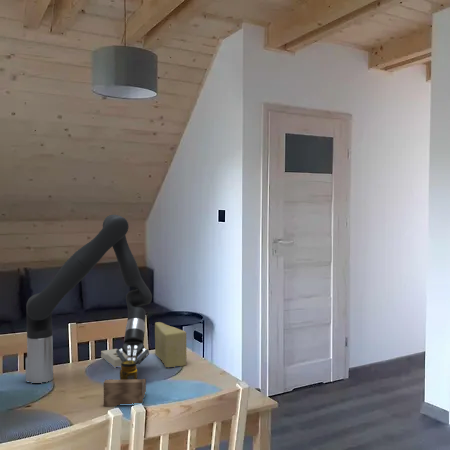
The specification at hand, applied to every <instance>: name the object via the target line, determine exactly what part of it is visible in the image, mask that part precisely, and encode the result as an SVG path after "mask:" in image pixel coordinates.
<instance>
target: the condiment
mask: <svg viewBox="0 0 450 450" xmlns="http://www.w3.org/2000/svg"><path fill="white" fill-rule="evenodd" d="M119 371H120V372H119V380H128V379H138V369H137V364H136V362H135V361H132V360H127V361H123V362H122V363H121V368H120V370H119Z"/></svg>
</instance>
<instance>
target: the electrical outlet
mask: <svg viewBox="0 0 450 450" xmlns="http://www.w3.org/2000/svg"><path fill="white" fill-rule="evenodd" d="M117 349H118V348H112V349H106V350H101V351H100V353H101V354H100V358H101V359H103V358H105V359H106V360H107V361H108V362H109V363H111V364H112V365H113V366H114V367H116V366H121V363H122V361H121V359H120V358H119V357H118V355H117V353H116V350H117ZM123 356H124V357H125V359H126V360H127V356H126V354H125V353H124V351H123Z"/></svg>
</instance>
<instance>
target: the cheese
mask: <svg viewBox="0 0 450 450" xmlns="http://www.w3.org/2000/svg"><path fill="white" fill-rule="evenodd" d="M154 344H155V345H154V348H155V349H154V350H155V351H154V354H155V356H158V357H159V358H160V359H161V360H162V361H161V360H160V359H159V358H158V359H159V360H160V361H161V362H162V363H164V364H163V365H164V367H165V368H166V367H174V368H176V367H175V366H180V367H184V366H187V332H186V331H185V330H183V329H180V328H177V327H174V326H172V325H171V326H170V325H168V324H166V323H164V322H161V321H158V322H157V321H156V322H155V323H154Z"/></svg>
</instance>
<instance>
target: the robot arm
mask: <svg viewBox="0 0 450 450" xmlns="http://www.w3.org/2000/svg"><path fill="white" fill-rule="evenodd" d="M128 230H129V222H128V220H127V219H126V218H125V217H123V216H121V215H118V214H110V215H108V216H106V217H105V218H104V220H103V222H102V229H101V230H100V231H99V232H98V233H97V234H96V236H95V237H94V238H93V239H91V240H89V241H88V243H85V244H84V245H83V246H82V247H80V248H79V249H78V250H76V251H75V252H74V253H73V254H72V255H71V256H70V257H69V258H68V259H67V261H65V262H64V263H63V265H62V266H61V268H59V270H58V271H57V273H56V274H55V276H54V278H52V280H51V281H50V283H49V284H48V285H47V286H46V287H45V288H44V289H43V290H42V291H41V292H39V293H35V294H32V295H31V296H30V297H29V298H28V300H27V302H26V307H25V308H26V345H27V346H26V347H27V348H26V351H27V354H26V355H27V356H26V357H25V358H24V359H25V361H24V362H25V382H26V381H29V382H33V383H41V384H43V383H42V382H46V383H49V382H51V381H53V379H54V359H53V358H54V350H53V343H54V342H53V317H52V316H53V311H54V310H55V309H56V307H57V306H58V305H59V304H60V302H61V301H62V300H63V298H65V296H66V295H67V294H68V293H69V292H70V291H72V290H73V289H74V288H75V287H76V286H77V285H78V284H79V283H80V282H81V281H82V280H83V279H84V278H85V277H86V276H87V275H88V274H89V273H90V272H91V271H92V270H93V268H95V266H96V265H97V264H98V263H99V261H101V259H102V258H103V257H104V256H105V254H106V253H107V252H108V251H109V250H110V249H113V251H114V253H115V256H116V259H117V263H118V266H119V270H120V273H121V276H122V279H123V282H124V284H125V285H126V287H132V288H135V289H131V290H130V291H128V292H127V293H126V295H125V302H126V306H127V322H126V325H125V332H124V333H125V334H124V339H123V344H122V346H121V348H120V349H119V348H116V349H117V350H116V353H117V355H118V357H119V358H120V359H121V361H122V362H123V361H127V360H132V361H135V362H136V365H140V364H141V363H142V362H143V361H145V359H146V358H147V357H148V356H149V355H150V350H149V349H147V348H145V345H144V344H145V343H144V342H145V333H146V315H147V314H146V313H147V312H146V310H145V309H144V308H143V307H142V306H148V305H150V304H151V302H152V299H153V295H152V292H151V290H150V289H149V287H148V285H147V284H146V283H145V281H144V279H143V278H142V275H141V272H140V269H139V266H138V263H137V261H136V259H135V257H134V255H133V253H132V251H131V249H130V246H129V243H128V240H127V237H126V235H127V233H128V232H129V231H128ZM123 352H124V353H125V354H126V356H127V360H126V359H125V357H124V356H123ZM48 381H49V382H48Z"/></svg>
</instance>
